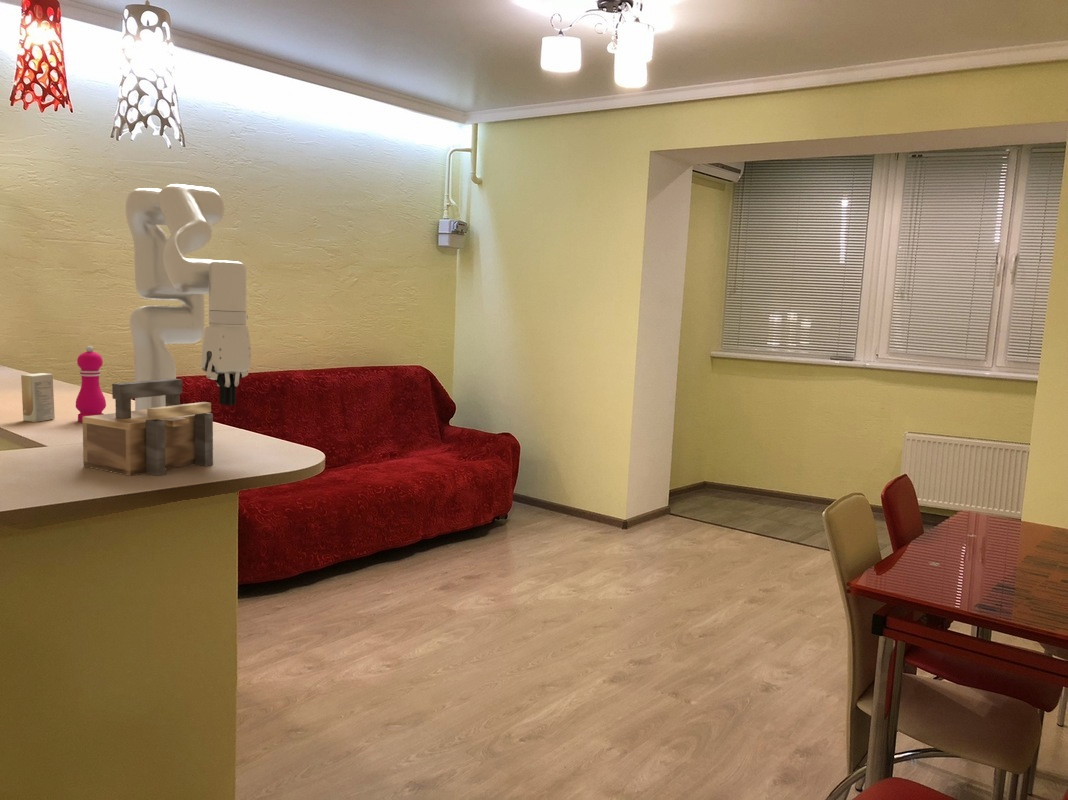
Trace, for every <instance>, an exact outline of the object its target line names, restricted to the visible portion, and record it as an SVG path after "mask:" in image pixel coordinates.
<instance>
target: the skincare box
mask: <svg viewBox="0 0 1068 800" xmlns="http://www.w3.org/2000/svg"><path fill="white" fill-rule="evenodd" d="M20 378H21V379H20V380H21V383H20V384H21V401H22V402H21V403H22V419H23V420H22V421H25V422H30V423H31V422H32V423H36V422H37V423H38V422H43V421H49V420H54V419H56V418H55V417H56V416H55V414H56V413H55V398H54V397H55V396H54V395H55V394H54V393H55V392H54V376H53V374H52V373H46V372H43V373H42V372H39V373H31V374H30V373H29V374H21V375H20Z"/></svg>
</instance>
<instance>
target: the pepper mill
mask: <svg viewBox="0 0 1068 800" xmlns="http://www.w3.org/2000/svg"><path fill="white" fill-rule="evenodd" d="M85 350H86V351H85V352H84V351H83V352H81V353H80V354H79V355H78V357H77V359H76V361H77V366H78V367H79V369H80V370H79V376H81V386H80V390H79V392H78V395H77V396H76V401H75V408H76V410H78V412H79V414H77V421H78V422H79V423H83V417H84V416H93V415H102V414H104V413H102V412H103V411H104V410H105V409H106V407H107V402H106V398H105V396H104V394H103V391H102V389H101V385H100V376H101V375H102V373H101V370H100V368H102V366H103V363H104V361H103V357H102V356H101V354H99V353H98V352H95V351H94V347H93V346H92V345H88V346H86V348H85Z"/></svg>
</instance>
